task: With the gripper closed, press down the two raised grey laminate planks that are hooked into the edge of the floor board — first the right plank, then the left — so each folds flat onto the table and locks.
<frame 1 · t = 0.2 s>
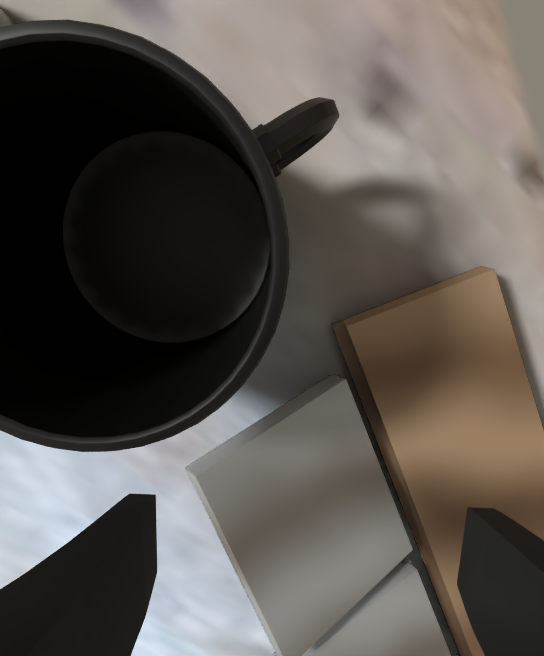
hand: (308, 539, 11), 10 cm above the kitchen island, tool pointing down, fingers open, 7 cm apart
mug: (196, 224, 19), on the kitchen island
board: (400, 542, 22), on the kitchen island
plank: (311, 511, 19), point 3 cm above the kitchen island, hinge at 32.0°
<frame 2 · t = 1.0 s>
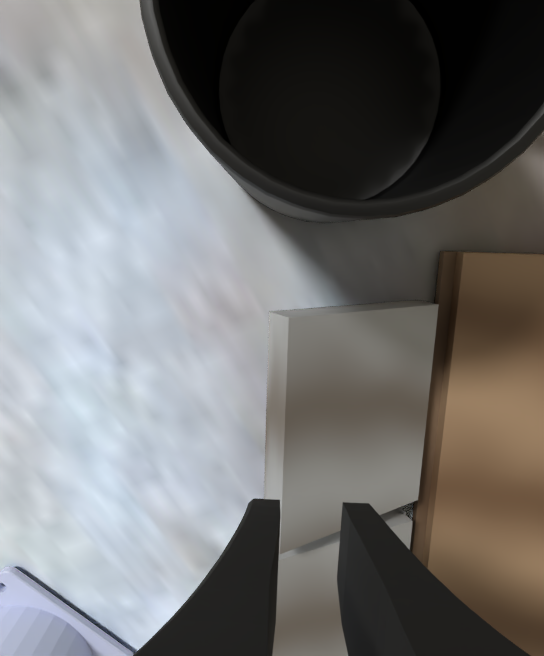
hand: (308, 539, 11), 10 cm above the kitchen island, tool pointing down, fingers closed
mug: (360, 92, 18), on the kitchen island
board: (399, 493, 21), on the kitchen island
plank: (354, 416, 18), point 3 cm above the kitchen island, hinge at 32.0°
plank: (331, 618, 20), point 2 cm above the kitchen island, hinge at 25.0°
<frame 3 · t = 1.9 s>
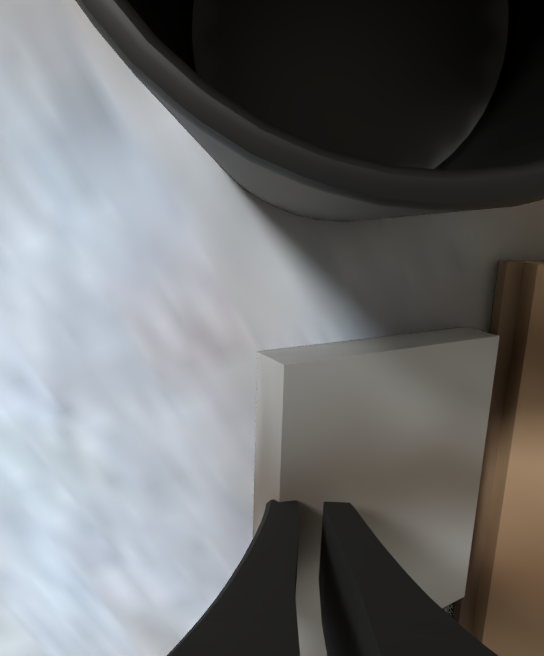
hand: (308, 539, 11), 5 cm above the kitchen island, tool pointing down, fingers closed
mug: (391, 39, 13), on the kitchen island
board: (437, 579, 16), on the kitchen island
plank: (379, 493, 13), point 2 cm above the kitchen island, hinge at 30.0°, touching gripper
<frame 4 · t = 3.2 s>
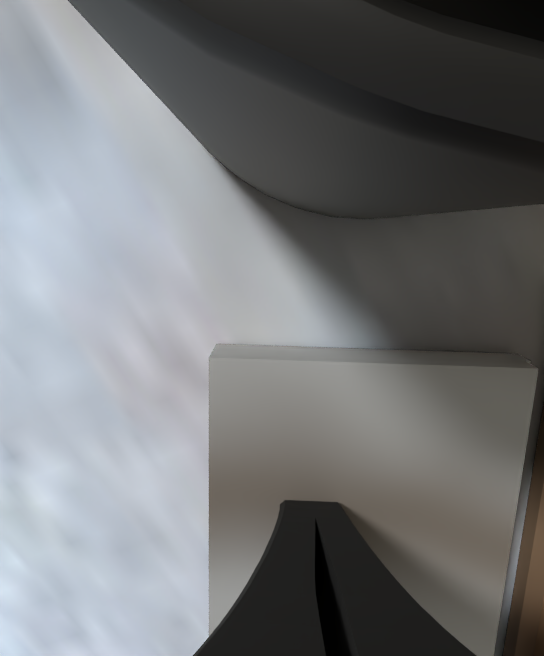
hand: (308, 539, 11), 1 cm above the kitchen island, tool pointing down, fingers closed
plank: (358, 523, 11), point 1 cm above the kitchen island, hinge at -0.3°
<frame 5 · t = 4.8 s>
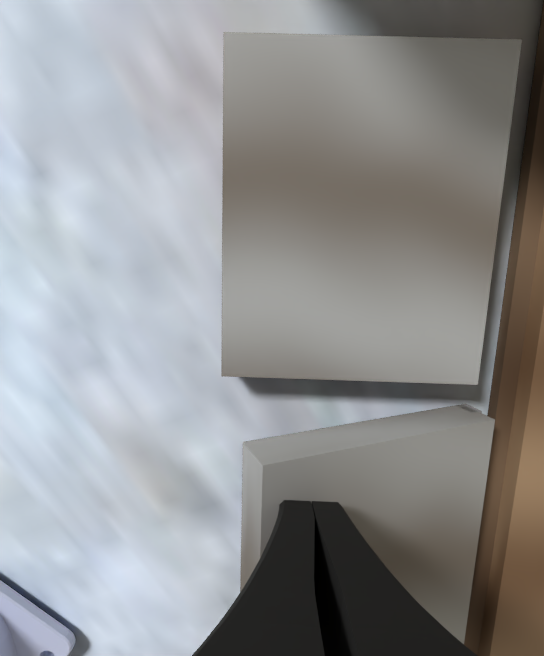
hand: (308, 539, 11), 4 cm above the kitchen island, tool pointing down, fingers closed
board: (468, 386, 14), on the kitchen island
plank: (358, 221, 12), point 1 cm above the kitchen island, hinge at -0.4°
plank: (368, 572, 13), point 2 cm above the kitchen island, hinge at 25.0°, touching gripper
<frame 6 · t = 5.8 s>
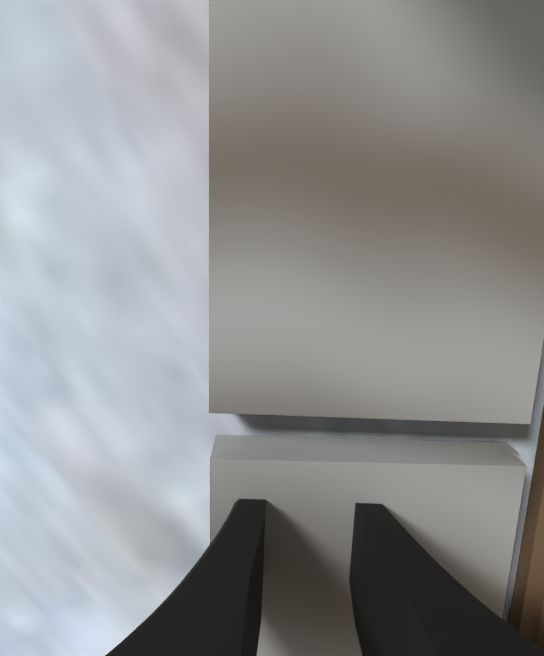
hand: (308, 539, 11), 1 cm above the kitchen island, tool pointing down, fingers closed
board: (512, 421, 11), on the kitchen island
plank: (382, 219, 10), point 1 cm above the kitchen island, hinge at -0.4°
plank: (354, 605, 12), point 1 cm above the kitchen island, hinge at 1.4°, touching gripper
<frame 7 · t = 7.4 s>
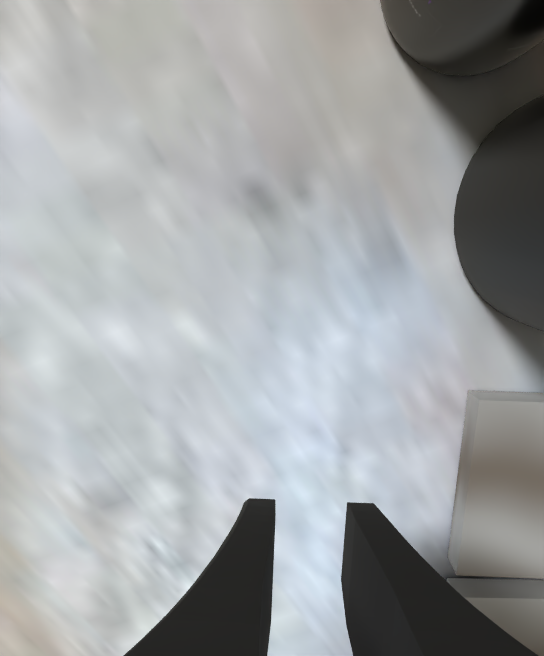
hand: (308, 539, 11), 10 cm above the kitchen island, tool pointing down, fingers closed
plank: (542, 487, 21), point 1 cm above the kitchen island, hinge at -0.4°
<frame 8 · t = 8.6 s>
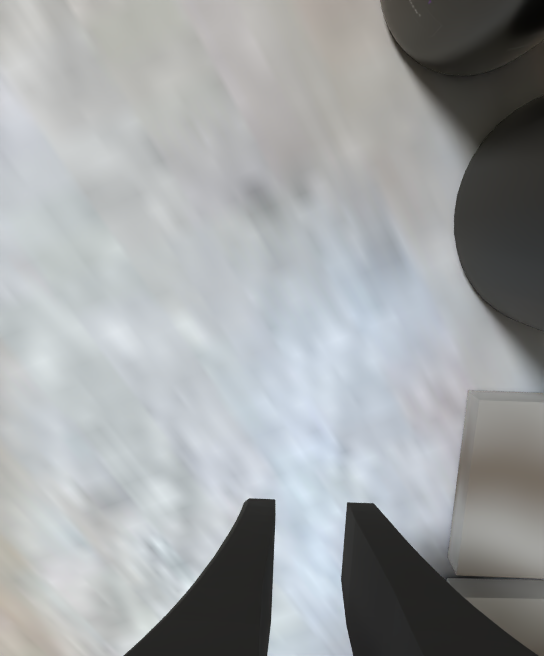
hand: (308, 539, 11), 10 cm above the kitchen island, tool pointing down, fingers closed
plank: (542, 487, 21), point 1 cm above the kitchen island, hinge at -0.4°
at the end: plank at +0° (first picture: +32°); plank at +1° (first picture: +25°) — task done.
